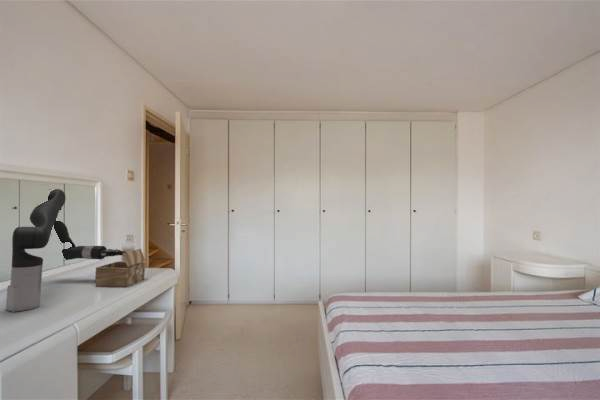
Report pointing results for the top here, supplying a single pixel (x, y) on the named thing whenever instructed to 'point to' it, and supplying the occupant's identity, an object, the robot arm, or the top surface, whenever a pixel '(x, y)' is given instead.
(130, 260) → the near flap
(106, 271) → the wooden box
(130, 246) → the water bottle
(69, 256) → the robot arm
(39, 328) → the top surface
